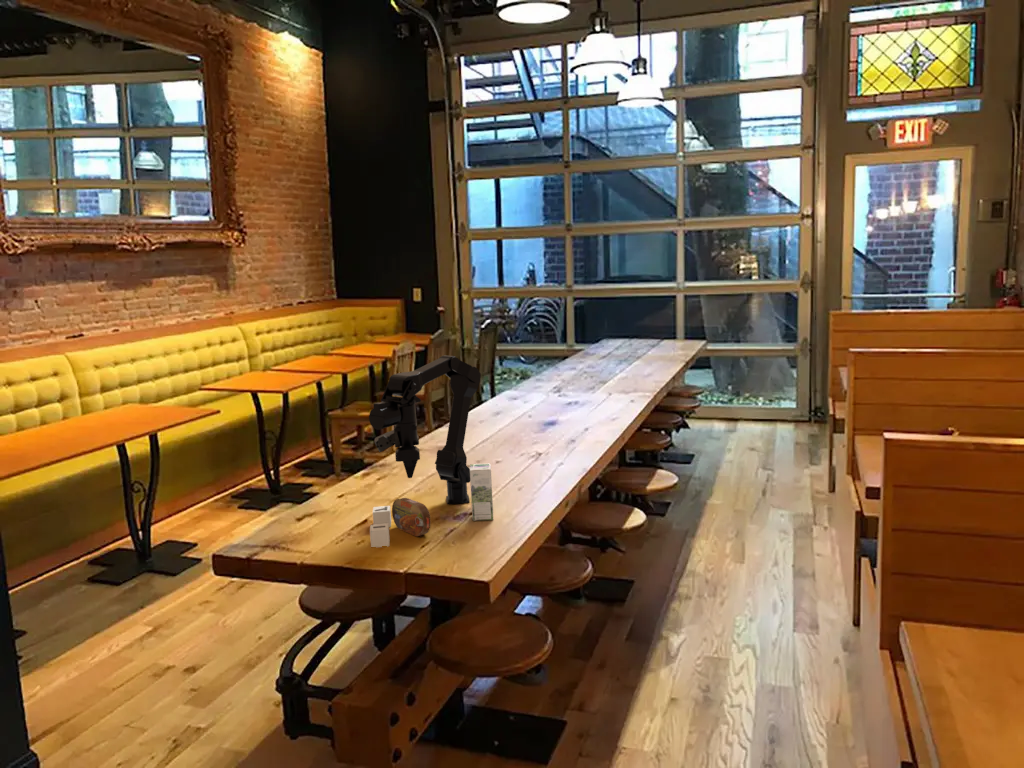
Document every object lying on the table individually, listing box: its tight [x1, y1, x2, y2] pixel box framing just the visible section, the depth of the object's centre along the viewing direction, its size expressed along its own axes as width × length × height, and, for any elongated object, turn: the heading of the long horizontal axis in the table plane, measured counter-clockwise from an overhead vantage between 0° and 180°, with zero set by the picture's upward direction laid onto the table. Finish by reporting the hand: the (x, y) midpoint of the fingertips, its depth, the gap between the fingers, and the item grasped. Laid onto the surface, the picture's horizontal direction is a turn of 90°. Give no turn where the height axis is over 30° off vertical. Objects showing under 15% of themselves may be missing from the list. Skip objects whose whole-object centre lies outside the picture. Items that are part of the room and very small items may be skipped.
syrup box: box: [469, 462, 494, 522], centre depth 223 cm, size 6×6×14 cm
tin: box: [391, 497, 432, 537], centre depth 216 cm, size 15×3×8 cm, turn 40°
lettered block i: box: [369, 523, 391, 548], centre depth 208 cm, size 4×4×5 cm
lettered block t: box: [372, 505, 392, 528], centre depth 222 cm, size 4×4×5 cm
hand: (409, 477), depth 223 cm, fingers closed
